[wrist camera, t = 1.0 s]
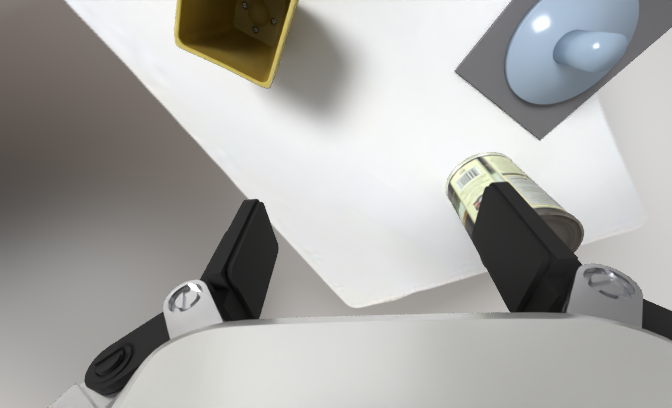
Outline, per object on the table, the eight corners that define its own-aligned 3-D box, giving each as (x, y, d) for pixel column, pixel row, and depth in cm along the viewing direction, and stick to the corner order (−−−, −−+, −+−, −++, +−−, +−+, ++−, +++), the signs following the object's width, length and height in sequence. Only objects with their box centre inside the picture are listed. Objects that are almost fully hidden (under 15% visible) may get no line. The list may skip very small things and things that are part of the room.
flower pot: (313, -11, 27) (301, -17, 20) (286, 72, 32) (269, 91, 25) (229, -62, 25) (182, -89, 18) (214, 35, 30) (172, 44, 23)
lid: (586, -58, 24) (648, -75, 19) (652, 24, 28) (718, 28, 23) (481, 65, 30) (506, 76, 26) (544, 119, 34) (578, 138, 29)
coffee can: (494, 211, 44) (544, 282, 33) (435, 203, 43) (466, 272, 32) (531, 157, 38) (609, 221, 26) (463, 145, 37) (513, 206, 26)
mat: (594, -102, 23) (597, -103, 22) (680, 16, 27) (683, 16, 27) (454, 70, 31) (455, 71, 31) (538, 138, 36) (540, 139, 36)
